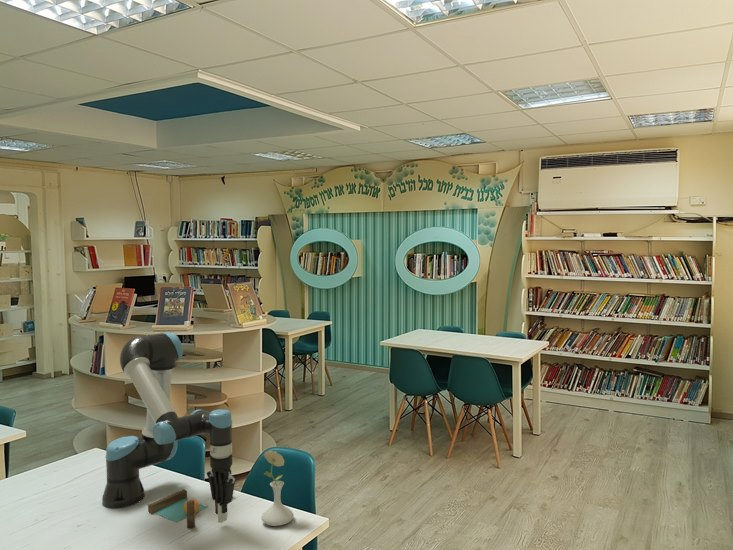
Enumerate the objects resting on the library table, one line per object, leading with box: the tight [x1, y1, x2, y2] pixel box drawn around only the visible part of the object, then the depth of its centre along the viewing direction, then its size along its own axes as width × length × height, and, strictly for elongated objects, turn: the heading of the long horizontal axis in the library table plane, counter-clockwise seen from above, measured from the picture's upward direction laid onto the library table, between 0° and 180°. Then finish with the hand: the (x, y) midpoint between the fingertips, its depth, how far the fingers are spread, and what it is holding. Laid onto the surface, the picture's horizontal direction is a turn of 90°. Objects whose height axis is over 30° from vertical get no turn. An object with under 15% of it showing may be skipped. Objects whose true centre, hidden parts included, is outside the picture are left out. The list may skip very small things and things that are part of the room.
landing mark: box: [153, 498, 208, 523], centre depth 207 cm, size 14×14×1 cm
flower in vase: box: [261, 449, 294, 527], centre depth 198 cm, size 13×11×25 cm
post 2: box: [214, 500, 218, 515], centre depth 204 cm, size 3×3×9 cm
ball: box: [184, 498, 200, 514], centre depth 203 cm, size 6×6×6 cm
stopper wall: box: [147, 489, 188, 515], centre depth 211 cm, size 2×16×3 cm, turn 146°
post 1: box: [186, 499, 196, 530], centre depth 194 cm, size 3×3×9 cm
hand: (222, 520), depth 194 cm, fingers closed
